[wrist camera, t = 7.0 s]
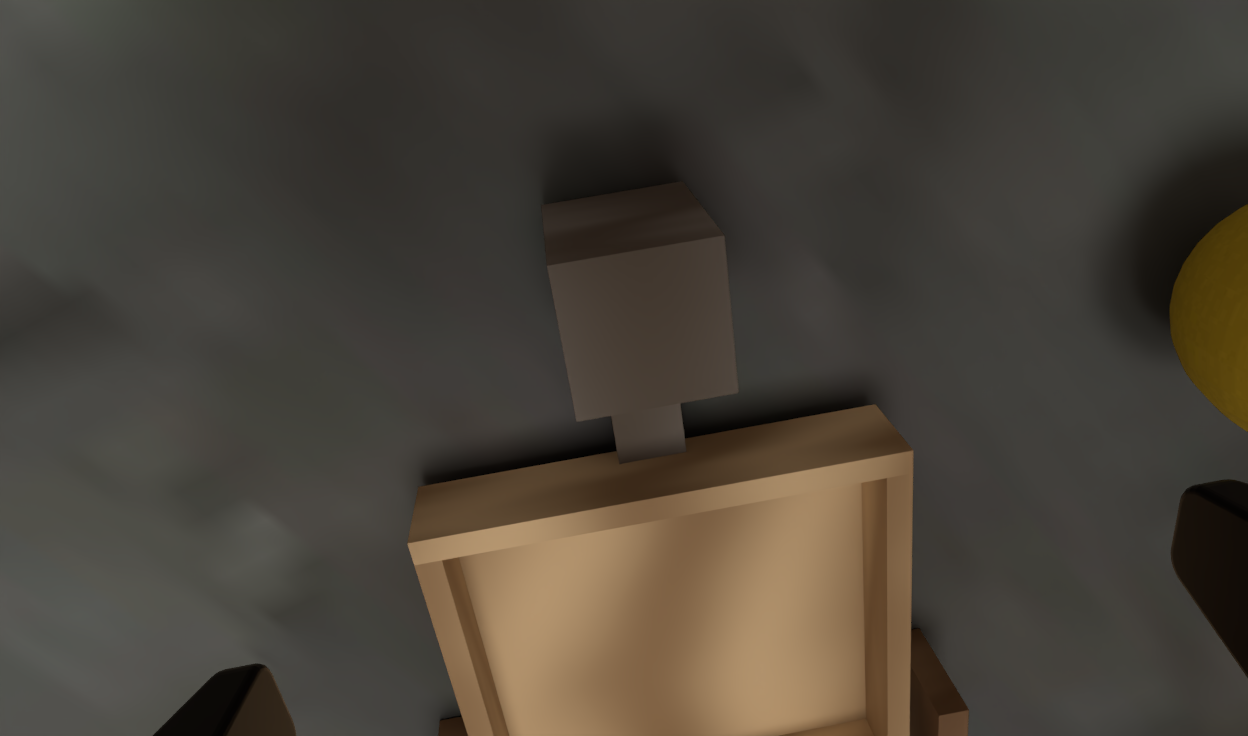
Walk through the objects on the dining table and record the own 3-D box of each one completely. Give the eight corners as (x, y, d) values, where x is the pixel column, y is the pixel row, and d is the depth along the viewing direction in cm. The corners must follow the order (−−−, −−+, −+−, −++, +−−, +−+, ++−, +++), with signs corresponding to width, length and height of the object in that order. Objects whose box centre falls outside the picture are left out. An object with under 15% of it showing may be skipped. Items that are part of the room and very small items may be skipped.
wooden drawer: (872, 149, 18) (962, 194, 14) (878, 712, 25) (938, 836, 22) (344, 238, 17) (298, 308, 14) (506, 785, 25) (505, 924, 21)
